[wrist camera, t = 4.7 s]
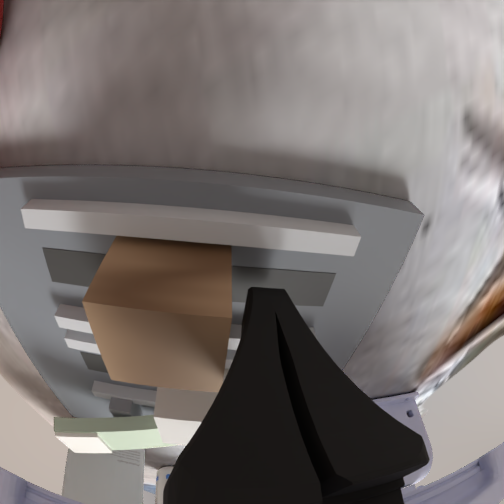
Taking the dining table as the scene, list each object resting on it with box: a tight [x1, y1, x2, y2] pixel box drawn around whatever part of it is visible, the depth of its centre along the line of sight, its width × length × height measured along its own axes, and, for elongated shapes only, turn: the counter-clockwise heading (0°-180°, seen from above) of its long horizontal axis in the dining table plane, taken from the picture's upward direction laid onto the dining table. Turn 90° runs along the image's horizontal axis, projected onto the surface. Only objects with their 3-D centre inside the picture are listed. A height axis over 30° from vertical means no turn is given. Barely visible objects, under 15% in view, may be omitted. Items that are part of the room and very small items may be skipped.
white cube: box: [153, 369, 229, 445], centre depth 14 cm, size 4×4×4 cm
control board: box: [0, 165, 424, 418], centre depth 15 cm, size 20×22×3 cm
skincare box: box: [62, 448, 145, 504], centre depth 19 cm, size 8×6×15 cm
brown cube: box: [82, 236, 232, 392], centre depth 10 cm, size 4×4×4 cm
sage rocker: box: [54, 415, 176, 453], centre depth 15 cm, size 9×4×1 cm, turn 81°
